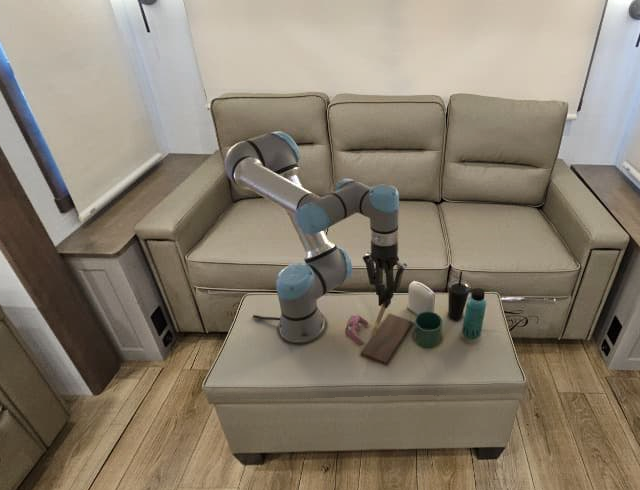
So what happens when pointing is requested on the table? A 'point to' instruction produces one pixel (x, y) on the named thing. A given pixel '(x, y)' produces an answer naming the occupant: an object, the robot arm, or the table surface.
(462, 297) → the drinking cup
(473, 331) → the beverage bottle
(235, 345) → the table surface
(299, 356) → the table surface
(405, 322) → the board
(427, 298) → the photo printer
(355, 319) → the video game controller
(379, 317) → the stirrer
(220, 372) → the table surface
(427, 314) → the coffee cup
